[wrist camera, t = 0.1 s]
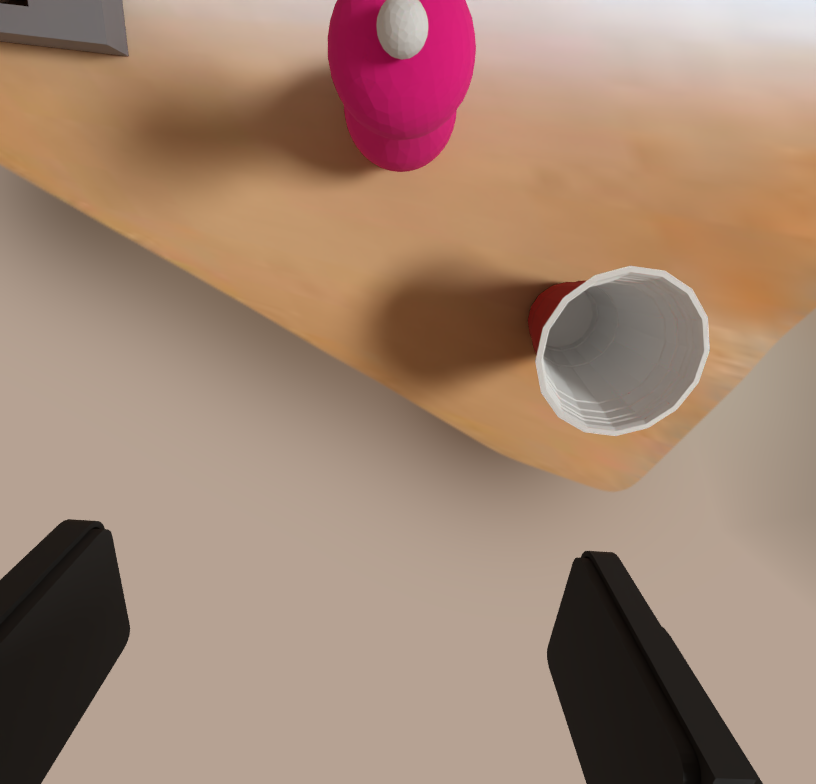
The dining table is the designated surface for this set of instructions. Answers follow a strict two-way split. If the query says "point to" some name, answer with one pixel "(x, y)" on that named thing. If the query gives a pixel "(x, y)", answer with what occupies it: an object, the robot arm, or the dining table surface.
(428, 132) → the pepper mill
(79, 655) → the robot arm
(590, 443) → the dining table surface
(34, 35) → the button panel
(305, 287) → the dining table surface
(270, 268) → the dining table surface
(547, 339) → the plastic cup
